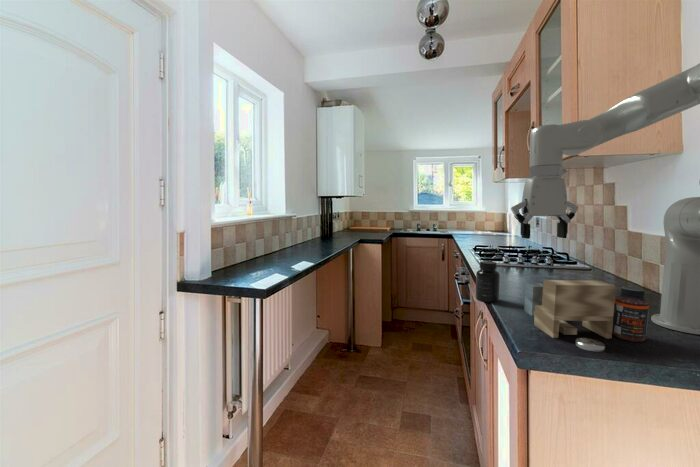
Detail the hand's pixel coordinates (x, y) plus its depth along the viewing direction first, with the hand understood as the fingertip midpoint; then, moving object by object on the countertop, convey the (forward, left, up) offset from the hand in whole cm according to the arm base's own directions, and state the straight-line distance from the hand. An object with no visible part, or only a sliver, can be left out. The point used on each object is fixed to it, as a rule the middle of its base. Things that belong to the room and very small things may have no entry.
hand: (543, 237), depth 91 cm
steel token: (+1, +22, -21) cm, 30 cm away
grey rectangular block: (+1, +7, -21) cm, 22 cm away
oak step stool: (0, +13, -21) cm, 25 cm away
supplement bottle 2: (-11, +17, -21) cm, 29 cm away
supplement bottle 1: (+9, -13, -21) cm, 26 cm away
